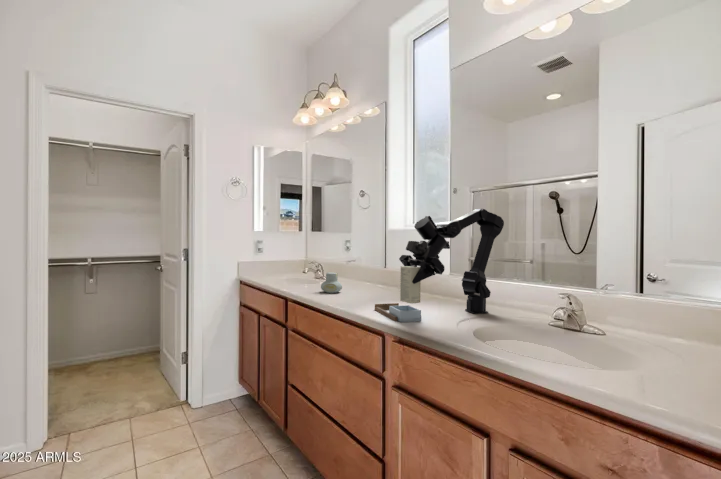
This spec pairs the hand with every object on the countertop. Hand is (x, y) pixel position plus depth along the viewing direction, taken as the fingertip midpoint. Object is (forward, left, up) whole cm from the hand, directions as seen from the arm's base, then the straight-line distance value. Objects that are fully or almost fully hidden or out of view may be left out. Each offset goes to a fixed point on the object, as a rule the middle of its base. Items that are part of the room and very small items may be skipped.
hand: (407, 281), depth 119 cm
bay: (-1, -10, -13) cm, 16 cm away
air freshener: (+10, -68, -13) cm, 70 cm away
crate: (-1, -3, -13) cm, 13 cm away
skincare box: (-1, 0, -7) cm, 7 cm away
